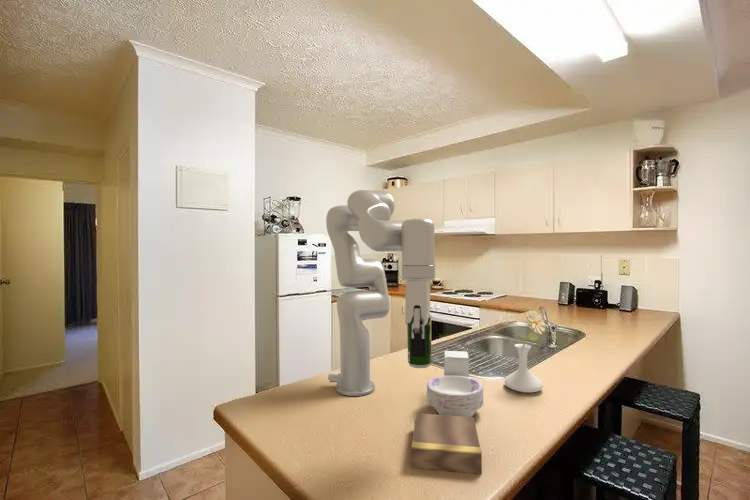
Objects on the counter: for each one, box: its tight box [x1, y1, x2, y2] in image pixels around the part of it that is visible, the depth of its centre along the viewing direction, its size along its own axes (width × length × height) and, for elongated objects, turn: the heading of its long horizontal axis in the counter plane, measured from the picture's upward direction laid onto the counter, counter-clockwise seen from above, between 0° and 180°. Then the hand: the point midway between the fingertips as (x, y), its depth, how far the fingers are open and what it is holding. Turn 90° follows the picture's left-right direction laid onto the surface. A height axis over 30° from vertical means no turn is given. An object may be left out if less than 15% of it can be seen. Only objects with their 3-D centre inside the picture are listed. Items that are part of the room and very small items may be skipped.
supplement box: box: [443, 350, 470, 378], centre depth 111 cm, size 7×7×13 cm
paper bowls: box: [426, 375, 485, 417], centre depth 99 cm, size 15×15×8 cm
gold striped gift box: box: [411, 412, 483, 475], centre depth 81 cm, size 14×16×4 cm
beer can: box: [406, 311, 433, 369], centre depth 82 cm, size 5×5×12 cm
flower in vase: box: [504, 309, 546, 393], centre depth 115 cm, size 13×11×25 cm
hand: (419, 351), depth 82 cm, fingers closed on beer can, 5 cm apart
